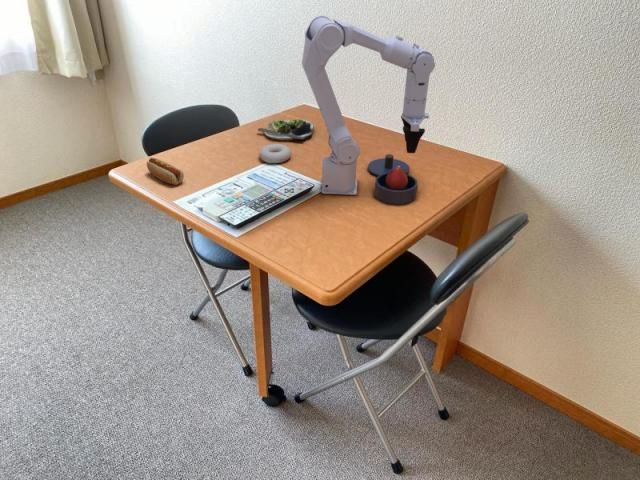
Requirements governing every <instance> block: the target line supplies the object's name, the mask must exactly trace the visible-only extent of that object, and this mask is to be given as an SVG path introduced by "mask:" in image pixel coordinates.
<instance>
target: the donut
mask: <svg viewBox="0 0 640 480" xmlns="http://www.w3.org/2000/svg"><path fill="white" fill-rule="evenodd" d="M258 156H259V159H260V160H261V161H263V162H265V163H267V164H281V163H285V162H286V161H288V160H289V159H290V158H291V156H292V151H291V148H290V147H289V146H287V145H285V144H280V143H270V144H266V145H264V146H262V147H261V148H260V150H259V152H258Z"/></svg>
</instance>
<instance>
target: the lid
mask: <svg viewBox="0 0 640 480" xmlns="http://www.w3.org/2000/svg"><path fill="white" fill-rule="evenodd" d="M398 166H400V167H401V170H403V171H404V172H405V173H406V174H408V173H409V172H410V166H409V164H408V163H407V162H405V161H403V160H400V159H397V158H395V157H394V155H393V154H391V153H390V154H388V153H387V154H386V155H385V156H384V157H383V158H377V159H374V160H372V161H370V162H369V163H368V164H367V169H368V171H369V172H370V173H371V174H373V175H375V176H377V177H378V176H379V175H381V174H384V173H389V172H390V171H391V170H393V169H395V168H397V167H398Z"/></svg>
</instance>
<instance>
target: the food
mask: <svg viewBox="0 0 640 480" xmlns="http://www.w3.org/2000/svg"><path fill="white" fill-rule="evenodd" d="M146 168H147V171H149V173H150V174H151V175H152V176H153V177H155V178H157V179H158V180H160V181H162V182H164V183H167V184H171V185H173V186H176V185H178V184H181V183H182V182H183V180H184V175H185V174H184V172H183V170H182V169H179V168H177V167H176V166H174V165H172V164H171V163H168V162H166V161H164V160H162V159H160V158H159V159H158V158H156V157H150V158H149V159H148V161H146Z"/></svg>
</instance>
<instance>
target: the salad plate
mask: <svg viewBox="0 0 640 480" xmlns="http://www.w3.org/2000/svg"><path fill="white" fill-rule="evenodd" d="M314 127H315V126H314V124H313V122H311V121H309V120H304V119H293V120H292V119H291V120H285V119H283V120H282V119H278V120H273V121H271V122H269V123H268V124H267V126H266V128H262V127H257V129H256V131H257V132H260V133H263V134H265V136H267V137H269V138H270V139H272V140H275V141H285V142H286V141H287V142H288V141H289V142H302V141H306V140H310V139H311V137H312V136H313V134H314Z"/></svg>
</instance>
